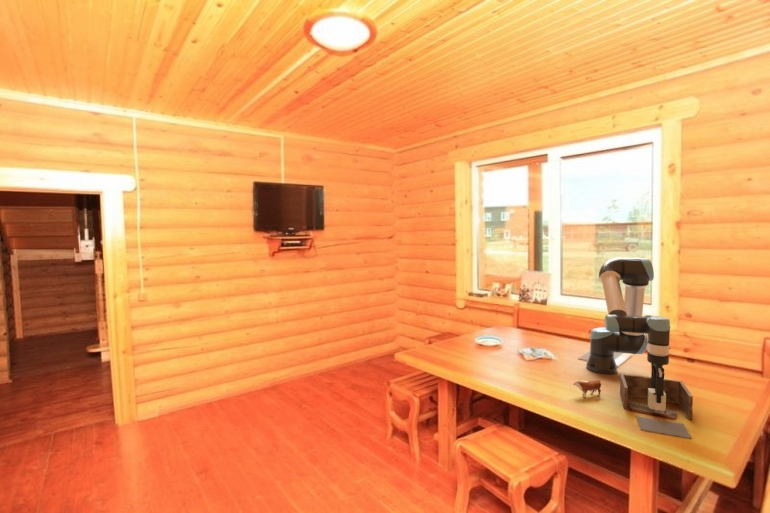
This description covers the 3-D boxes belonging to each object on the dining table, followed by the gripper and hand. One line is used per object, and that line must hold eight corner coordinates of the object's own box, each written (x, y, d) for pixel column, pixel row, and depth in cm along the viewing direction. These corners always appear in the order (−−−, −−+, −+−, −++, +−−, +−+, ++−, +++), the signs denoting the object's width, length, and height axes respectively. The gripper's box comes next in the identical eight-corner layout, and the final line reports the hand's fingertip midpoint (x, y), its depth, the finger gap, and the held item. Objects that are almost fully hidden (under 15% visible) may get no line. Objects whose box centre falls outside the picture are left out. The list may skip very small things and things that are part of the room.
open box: (624, 409, 171) (624, 387, 170) (619, 393, 187) (620, 373, 186) (692, 420, 160) (692, 396, 159) (681, 402, 176) (682, 381, 175)
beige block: (649, 408, 165) (650, 392, 165) (647, 403, 170) (648, 387, 170) (665, 411, 163) (666, 394, 163) (662, 405, 168) (663, 390, 167)
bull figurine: (571, 394, 187) (571, 378, 186) (598, 393, 188) (598, 376, 187) (576, 398, 182) (577, 381, 182) (603, 397, 183) (604, 380, 183)
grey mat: (641, 430, 153) (641, 429, 153) (636, 416, 164) (636, 416, 164) (691, 439, 146) (691, 438, 146) (683, 424, 157) (683, 423, 157)
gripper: (673, 361, 155) (672, 417, 157) (664, 348, 172) (662, 399, 173) (651, 358, 158) (649, 414, 160) (644, 346, 175) (642, 396, 177)
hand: (656, 406), depth 167 cm, fingers closed on beige block, 5 cm apart
